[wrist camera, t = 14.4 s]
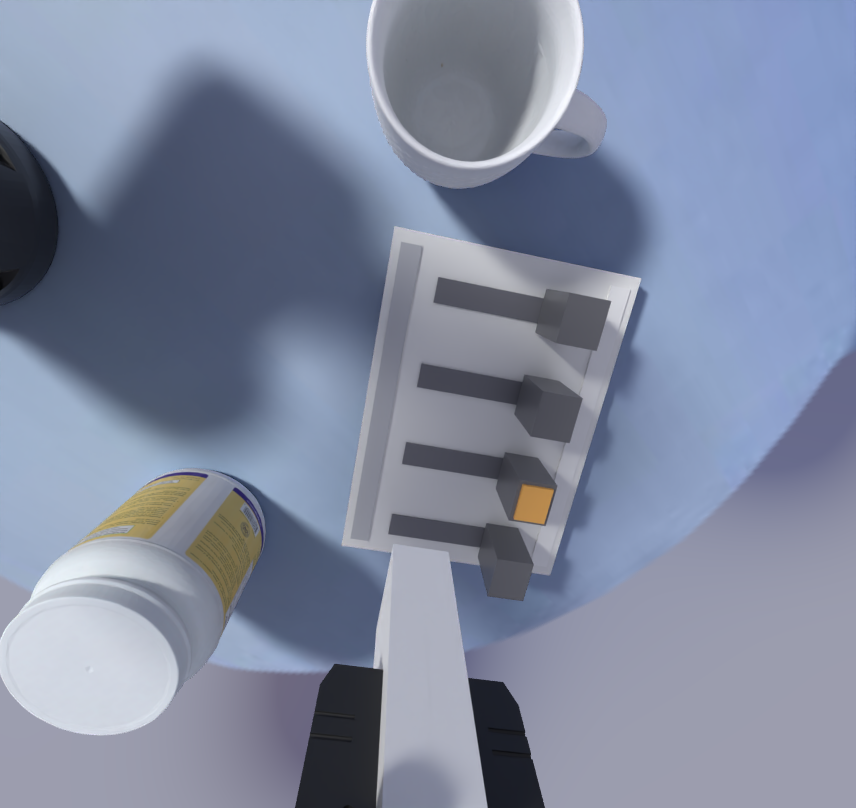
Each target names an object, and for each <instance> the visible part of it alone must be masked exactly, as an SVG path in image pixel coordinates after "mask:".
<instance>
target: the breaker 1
mask: <svg viewBox="0 0 856 808" xmlns="http://www.w3.org/2000/svg"><path fill="white" fill-rule="evenodd" d="M610 304H611V301H609V300H604V299H599V298H594V297H589V296H585V295H580V294H575V293H570V292H564V291H557V290H551V289H546V292H545V296H544V300H543V304H542V307H541V311H540V315H539V319H538V323H537V327H536V331H535V333H537V334H539V335H541V336H543V337H545V338H547V339H549V340H551V341H553V342H555V343H558V344H563V345H568V346H573V347H578V348H583V349H588V350H594V351H597V349H598V345H599V342H600V338H601V335H602V332H603V328H604V325H605V321H606V318H607V315H608V311H609V308H610Z"/></svg>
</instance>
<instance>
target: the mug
mask: <svg viewBox="0 0 856 808" xmlns="http://www.w3.org/2000/svg"><path fill="white" fill-rule="evenodd" d="M583 51H584V28H583V21H582V15H581V10H580V6H579V2H578V0H373V3H372V6H371V10H370V15H369V20H368V26H367V36H366V56H367V65H368V72H369V77H370V86H371V89H372V96H373V101H374V105H375V109H376V112H377V116H378V120H379V122H380V124H381V128H382V130H383V133H384V134H385V136H386V139H387V141H388V143H389V144H390V146H391V147H392V149H393V151H394V153H395V154H396V155H397V156H398V158H400V160H401V161H402V162H403V163H404V165H405V166H407V167H408V168H409V169H410V170H411V171H412V172H413V173H415V174H416V175H417V176H419V177H421V178H423V179H424V180H425V181H429V182H430V183H433V184H435V185H437V186H442V187H448V188H456V189H460V188H462V189H465V188H474V187H476V186H482V185H484V184H487V183H489V182H492V181H493V180H496V179H498V178H499V177H501V176H503V175H505V174H506V173H507V172H510V171H511V170H512V169H514V168H516V167H517V166H518V165H520V164H521V163H522V162H523V161H524V160H525V159H526V158H527V157H529V155H530V154H531V153H533V154H538V155H545V156H551V157H559V158H582V157H586V156H589V155H591V154H593V153H594V152H595V151H596V150H597V149H598V148H599V146H600V144H601V142H602V140H603V138H604V135H605V132H606V126H607V120H606V116H605V114H604V112H603V111H602V109H601V108H600V107H599V106H598V105H597V104H596V103H595V102H594V101H593V100H592V99H591V98H590V97H589V96H587V95H586V94H584V93H583V92H581V91H579V90H577V89H576V88H577V85H578V81H579V77H580V73H581V68H582V63H583ZM554 128H556V129H560V130H554ZM562 130H563V131H562Z"/></svg>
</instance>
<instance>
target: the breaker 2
mask: <svg viewBox="0 0 856 808" xmlns="http://www.w3.org/2000/svg"><path fill="white" fill-rule="evenodd" d="M582 400H583V398H582V397H580V396H579V395H578V394H576V393H575V392H573V391H572V390H571V389H569V388H568V387H567V386H565V385H564V384H563V383H561V382H560V381H558V380H552V379H547V378H542V377H536V376H531V375H525V374H524V378H523V382H522V386H521V389H520V393H519V397H518V401H517V405H516V409H515V413H514V415H515V416H516V417H517V419H518V420H519V421H520V423H521V424H522V425H523V427H524V428H525V429H526V431H527V432H528V434H529V435H530V436H531V437H536V438H542V439H548V440H554V441H559V442H565V443H570V440H571V437H572V433H573V430H574V427H575V423H576V420H577V416H578V413H579V410H580V406H581V403H582Z"/></svg>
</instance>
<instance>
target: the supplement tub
mask: <svg viewBox="0 0 856 808" xmlns="http://www.w3.org/2000/svg"><path fill="white" fill-rule="evenodd" d="M265 534H266V530H265V520H264V516H263V513H262V510H261V507H260V505H259V503H258V501H257V500H256V498H255V497H254V496H253V495H252V493H251V492H250V491H249V490H248V489H247V488H246V487H244V486H243V485H242V484H240V483H239V482H238V481H236V480H234V479H233V478H231V477H229V476H227V475H224V474H222V473H219V472H216V471H212V470H208V469H200V468H186V469H178V470H174V471H170V472H167V473H165V474H162V475H160V476H158V477H156V478H154V479H152V480H151V481H149V482H148V483H146V484H145V485H144V486H143V487H142V488H141V489H140V490H139V491H138V492H137V493H135V494H134V495H133V496H132V497H131V498H130V499H129V500H127V501H126V502H125V503H124V504H123V505H122V506H120V507H119V508H118V509H117V510H116V511H115V512H113V513H112V514H111V515H110V516H109V517H108V518H106V519H105V520H104V521H103V522H102V523H101V524H100V525H98V526H97V527H96V528H95V529H94V530H93V531H91V532H90V533H89V534H88V535H87V536H85V537H84V538H83V539H82V540H81V541H80V542H78V543H77V544H76V545H75V546H74V547H72V548H71V549H70V550H69V551H68V552H66V553H65V554H64V555H62V556H61V557H59V558H58V559H57V560H56V561H55V562H54V563H53V564H52V565H51V566H50V567H49V568H48V570H47V571H46V572H45V573H44V574H43V576H42V577H41V578H40V580H39V581H38V583H37V585H36V587H35V589H34V591H33V593H32V595H31V599H30V600H29V602H27V603H26V604H25V606H24V607H23V608H22V610H21V611H20V613H19V614H18V615H17V616H16V617H15V618H14V619H13V620H12V621H11V622H10V623H9V625H8V626H7V627H6V629H5V631H4V633H3V635H2V637H1V639H0V675H1V677H2V680H3V682H4V684H5V686H6V687H7V689H8V690H9V692H10V693H11V695H12V696H13V697H14V698H15V699H16V700H17V701H18V703H19V704H20V705H22V707H24V708H25V709H26V710H27V711H29V712H30V713H32V714H33V715H34V716H36V717H37V718H39V719H41V720H43V721H45V722H47V723H49V724H51V725H53V726H55V727H58V728H60V729H64V730H67V731H71V732H75V733H80V734H88V735H112V734H120V733H125V732H129V731H133V730H135V729H138V728H140V727H142V726H144V725H146V724H148V723H150V722H151V721H153V720H154V719H156V718H157V717H158V716H160V715H161V714H162V713H163V712H164V711H165V710H166V708H167V707H168V706H169V704H170V703H171V702H172V700H173V698H174V697H175V695H176V694H177V692H178V691H179V690H180V689H181V687H182V686H183V684H184V683H185V682H186V681H187V680H189V679H190V678H191V677H193V676H194V675H195V674H196V673H197V672H198V671H199V670H200V669H201V668H202V667H203V666H204V665H205V663H206V662H207V661H208V659H209V658H210V656H211V655H212V654H213V652H214V651H215V649H216V647H217V645H218V643H219V640H220V637H221V635H222V633H223V631H224V629H225V627H226V625H227V623H228V621H229V619H230V617H231V615H232V613H233V611H234V609H235V606H236V604H237V602H238V600H239V598H240V596H241V594H242V592H243V590H244V588H245V586H246V584H247V581H248V579H249V577H250V575H251V573H252V571H253V569H254V567H255V565H256V563H257V561H258V560H259V558H260V556H261V553H262V551H263V548H264V543H265Z"/></svg>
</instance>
